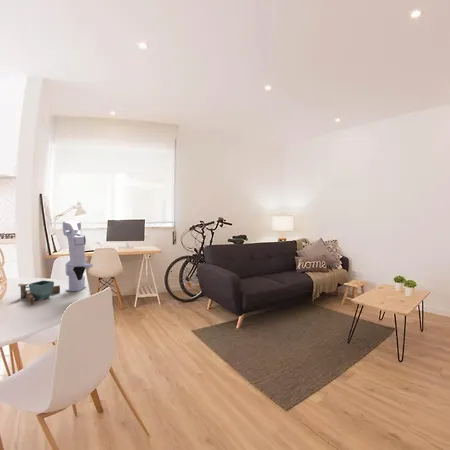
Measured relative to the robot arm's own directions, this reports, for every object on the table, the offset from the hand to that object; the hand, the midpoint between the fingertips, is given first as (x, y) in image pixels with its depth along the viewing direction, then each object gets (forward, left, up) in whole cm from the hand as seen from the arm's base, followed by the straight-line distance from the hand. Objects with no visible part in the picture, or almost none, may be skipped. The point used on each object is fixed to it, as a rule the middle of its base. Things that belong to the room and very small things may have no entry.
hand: (79, 279), depth 157 cm
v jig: (+5, -24, -9) cm, 26 cm away
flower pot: (+6, -18, -10) cm, 22 cm away
